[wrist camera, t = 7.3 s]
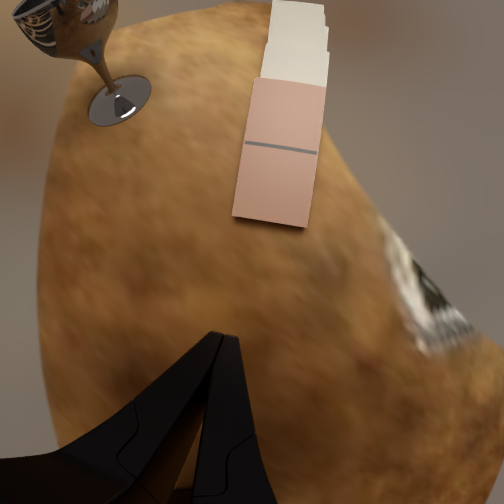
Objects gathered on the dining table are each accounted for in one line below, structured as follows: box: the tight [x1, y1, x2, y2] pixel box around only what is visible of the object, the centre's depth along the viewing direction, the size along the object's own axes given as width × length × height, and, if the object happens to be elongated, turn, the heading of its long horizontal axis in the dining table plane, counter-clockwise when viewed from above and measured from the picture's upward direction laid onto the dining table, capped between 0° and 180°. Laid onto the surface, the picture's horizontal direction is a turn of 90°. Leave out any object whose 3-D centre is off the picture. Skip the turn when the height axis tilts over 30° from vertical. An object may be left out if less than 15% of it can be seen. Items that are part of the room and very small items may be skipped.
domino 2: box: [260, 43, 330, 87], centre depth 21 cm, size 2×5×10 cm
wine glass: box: [12, 0, 151, 126], centre depth 18 cm, size 8×8×15 cm
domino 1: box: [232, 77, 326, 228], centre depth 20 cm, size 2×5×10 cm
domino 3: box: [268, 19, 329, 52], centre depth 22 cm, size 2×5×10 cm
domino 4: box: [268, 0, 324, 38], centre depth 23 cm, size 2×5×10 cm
